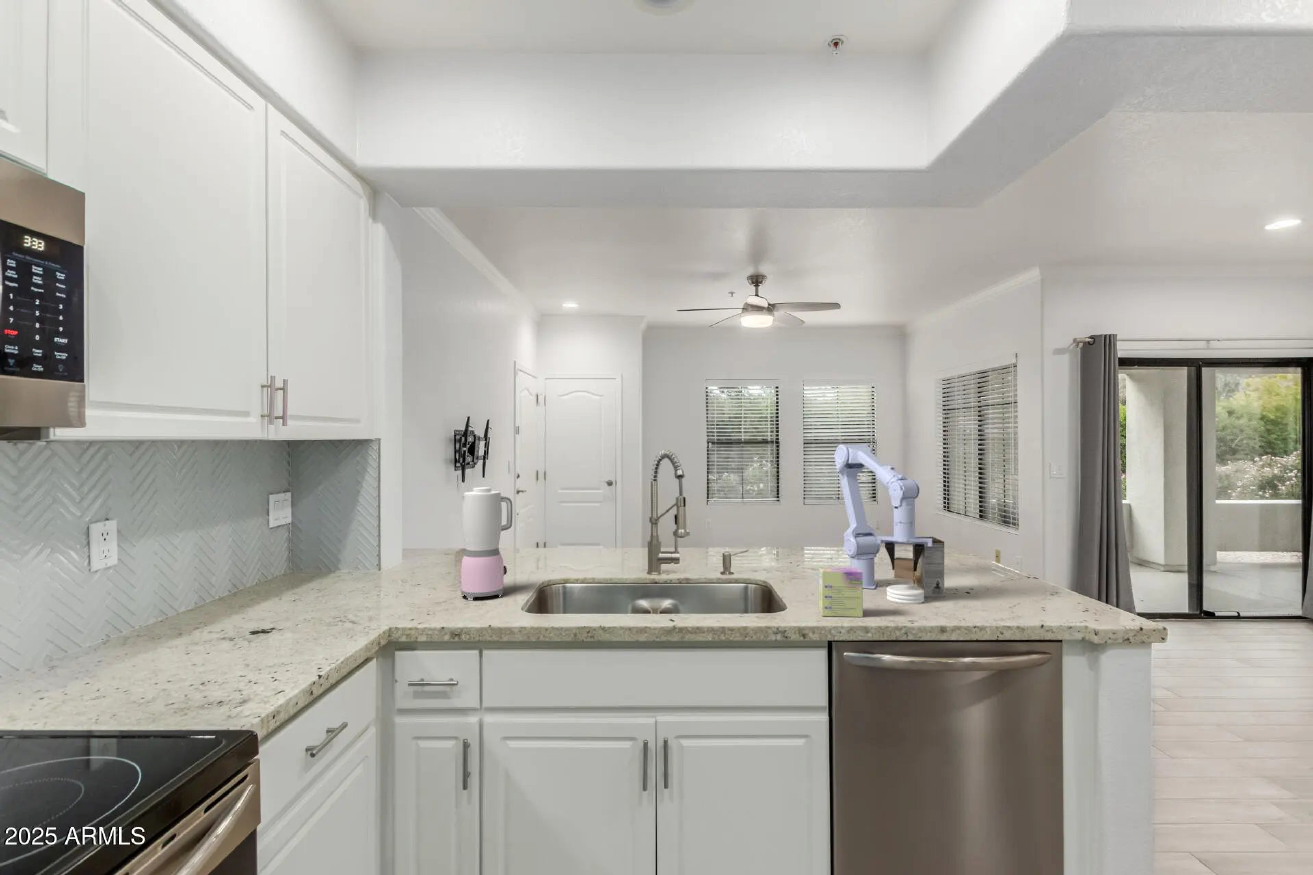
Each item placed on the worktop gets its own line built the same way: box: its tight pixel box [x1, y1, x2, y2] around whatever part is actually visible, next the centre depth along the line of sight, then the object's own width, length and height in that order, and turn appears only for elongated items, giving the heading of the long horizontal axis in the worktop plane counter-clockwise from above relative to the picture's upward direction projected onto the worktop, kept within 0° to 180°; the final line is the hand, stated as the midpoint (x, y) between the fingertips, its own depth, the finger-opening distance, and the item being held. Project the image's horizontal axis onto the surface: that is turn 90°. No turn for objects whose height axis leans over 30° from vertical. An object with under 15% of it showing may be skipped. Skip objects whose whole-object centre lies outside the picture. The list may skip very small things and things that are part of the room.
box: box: [818, 566, 864, 618], centre depth 172 cm, size 10×6×12 cm, turn 84°
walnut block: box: [893, 556, 915, 581], centre depth 187 cm, size 5×5×5 cm
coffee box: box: [912, 536, 945, 598], centre depth 195 cm, size 9×6×16 cm
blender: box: [460, 486, 513, 599], centre depth 196 cm, size 16×12×32 cm
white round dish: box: [886, 584, 925, 605], centre depth 187 cm, size 10×10×4 cm
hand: (904, 570), depth 187 cm, fingers closed on walnut block, 5 cm apart
